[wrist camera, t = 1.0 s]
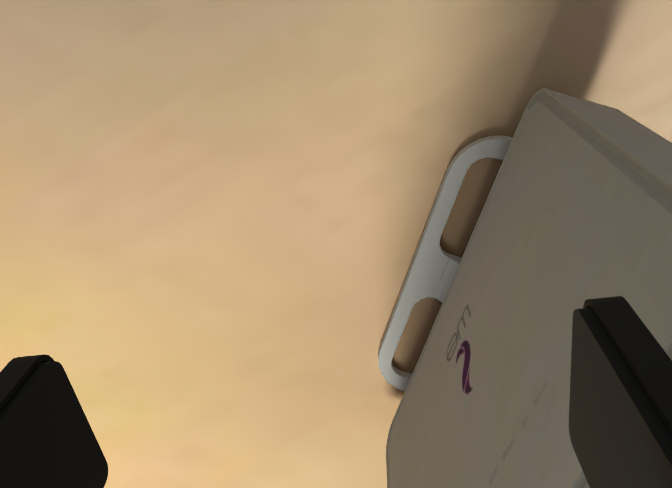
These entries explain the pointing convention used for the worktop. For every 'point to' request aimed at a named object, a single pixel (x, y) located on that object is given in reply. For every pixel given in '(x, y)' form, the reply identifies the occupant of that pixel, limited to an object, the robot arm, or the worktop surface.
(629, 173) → the network device
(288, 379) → the worktop surface
